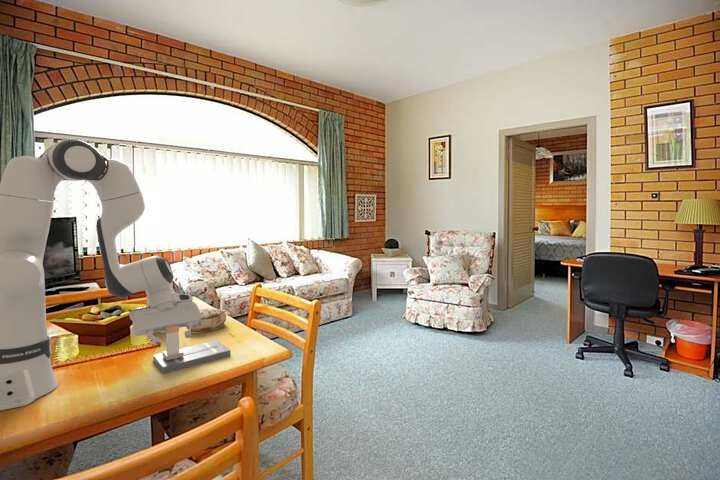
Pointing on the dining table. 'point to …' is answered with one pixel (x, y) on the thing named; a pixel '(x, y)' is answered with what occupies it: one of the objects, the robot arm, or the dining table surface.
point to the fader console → (192, 356)
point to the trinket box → (209, 320)
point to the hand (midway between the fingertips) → (173, 340)
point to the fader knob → (172, 343)
